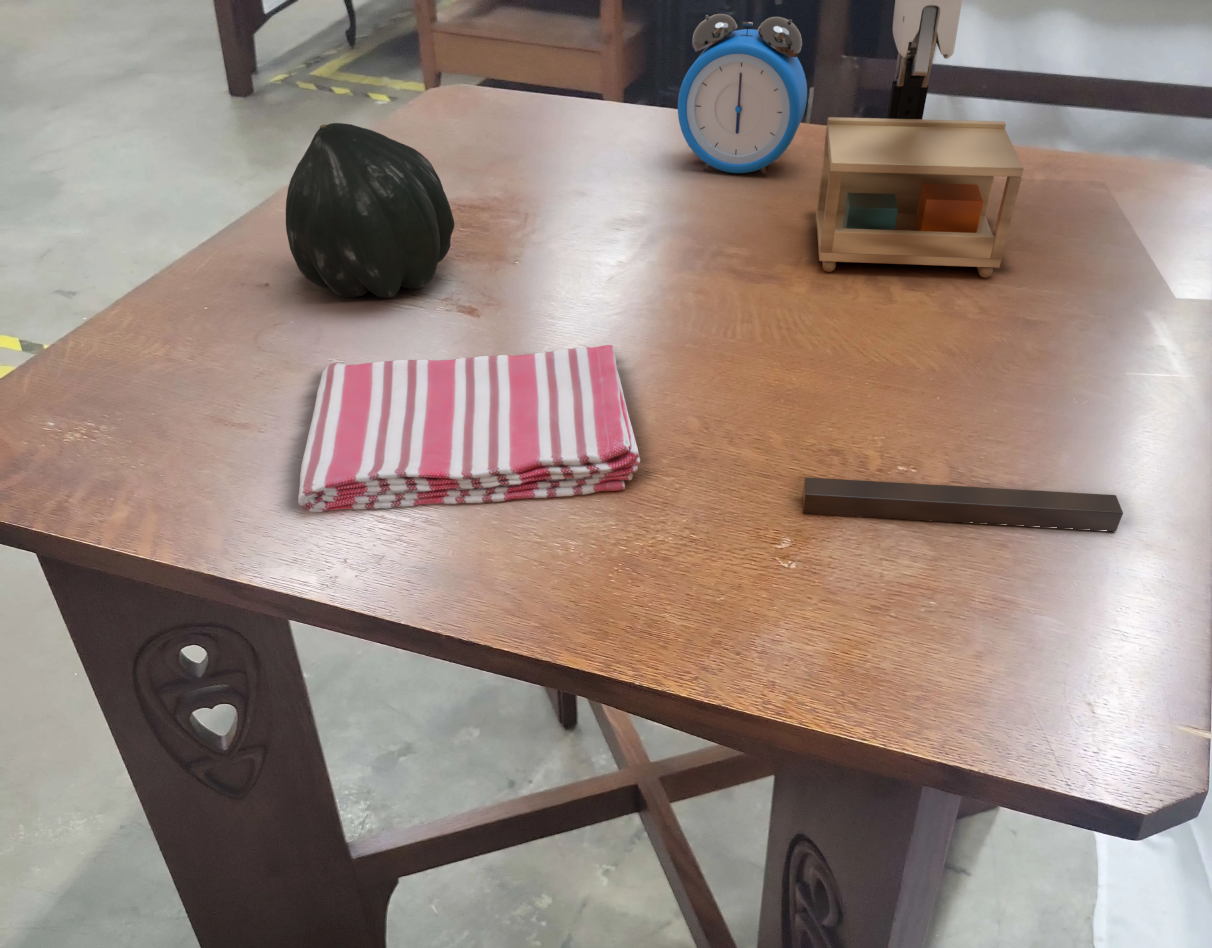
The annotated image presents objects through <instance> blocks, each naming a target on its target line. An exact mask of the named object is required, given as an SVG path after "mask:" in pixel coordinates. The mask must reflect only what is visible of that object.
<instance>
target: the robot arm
mask: <svg viewBox="0 0 1212 948" xmlns="http://www.w3.org/2000/svg"><path fill="white" fill-rule="evenodd" d="M894 1H895V2H894V10H893V17H892V19H893V20H892V36H893V40H894V43H895V47H896V49H897V59H896V65H895V73H894V80H892V83H891V89H890V94H889V101H888V106H887V107H888V108H887V114H886V119H923V118H924V112H925V107H926V102H927V101H926V100H927V95H928V90H929V85H928V84H929V79H930V75H931V70H932V66H933V60H934V55H935V52H936V45H937V47H938V51H939V53H940V55H942V57H943V59H944V60H946V59H947V60H948V59H950V58H951V57H952V56H953V55H954V54H955V47H956V41H957V35H958V30H959V29H958V28H959V22H960V16H961V10H962V3H963V0H894Z"/></svg>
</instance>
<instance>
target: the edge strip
mask: <svg viewBox="0 0 1212 948" xmlns="http://www.w3.org/2000/svg"><path fill="white" fill-rule="evenodd" d="M802 487H803V488H802V494H801V497H802V498H801V499H802V502H801V503H802V513H803V515H804V514H806V515H820V514H825V515H824V516H838V517H839V516H840V517H855V518H870V517H874V518H873V519H887V518H889V519H890V518H895V519H894V520H903V519H907V520H908V521H920V520H924V521H923V522H930V521H929V520H932V521H931V522H937V521H943V522H942V523H946V522H945V521H948V522H947V523H953V522H968V523H967V524H970V523H969V522H973V523H987V524H1007V525H1024V526H1040V527H1057V528H1073V529H1090V530H1107V531H1116V532H1117V531H1118V528H1119V525H1120V522H1121V520H1122V518H1123V514H1124V511H1123V509H1122V506H1121V504H1120V502H1119V498H1118V496H1117V495H1116V494H1104V493H1090V492H1089V493H1086V492H1071V491H1070V492H1069V491H1053V490H1052V491H1051V490H1034V489H1033V490H1032V489H1020V488H1019V489H1016V488H1003V487H1002V488H1001V487H983V486H966V485H965V486H964V485H947V484H929V483H914V482H913V483H912V482H896V481H879V480H877V481H875V480H859V479H857V480H856V479H841V478H823V477H807V476H806V477H804V481H803V486H802ZM859 516H861V517H859ZM912 519H913V520H912ZM890 520H891V519H890ZM907 520H906V521H907Z"/></svg>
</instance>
